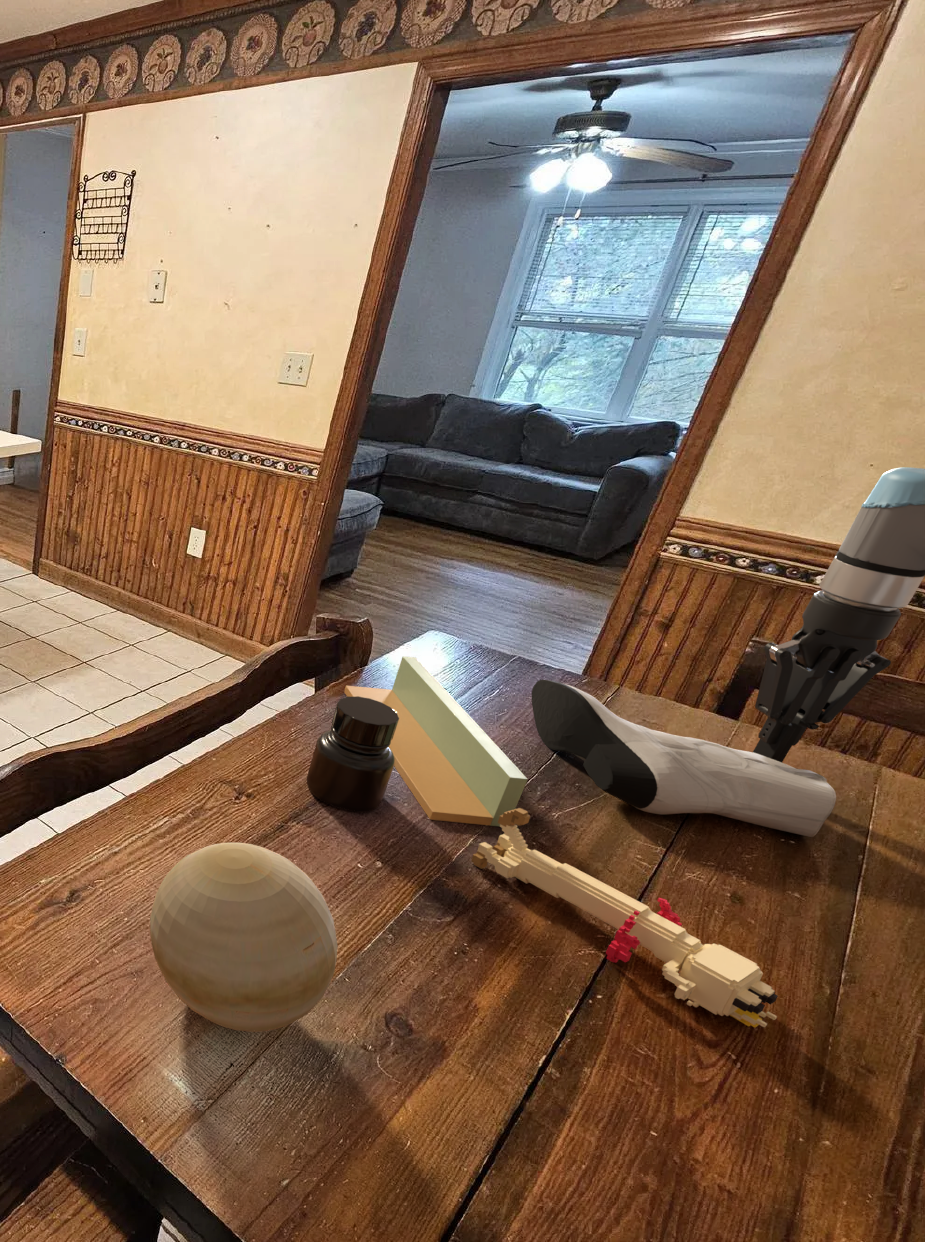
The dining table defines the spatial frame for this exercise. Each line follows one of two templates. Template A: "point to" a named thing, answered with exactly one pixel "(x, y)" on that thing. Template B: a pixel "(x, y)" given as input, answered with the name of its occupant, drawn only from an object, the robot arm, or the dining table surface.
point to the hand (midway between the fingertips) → (763, 762)
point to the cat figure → (638, 929)
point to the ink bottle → (354, 755)
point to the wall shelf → (445, 751)
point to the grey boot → (678, 767)
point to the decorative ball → (243, 937)
